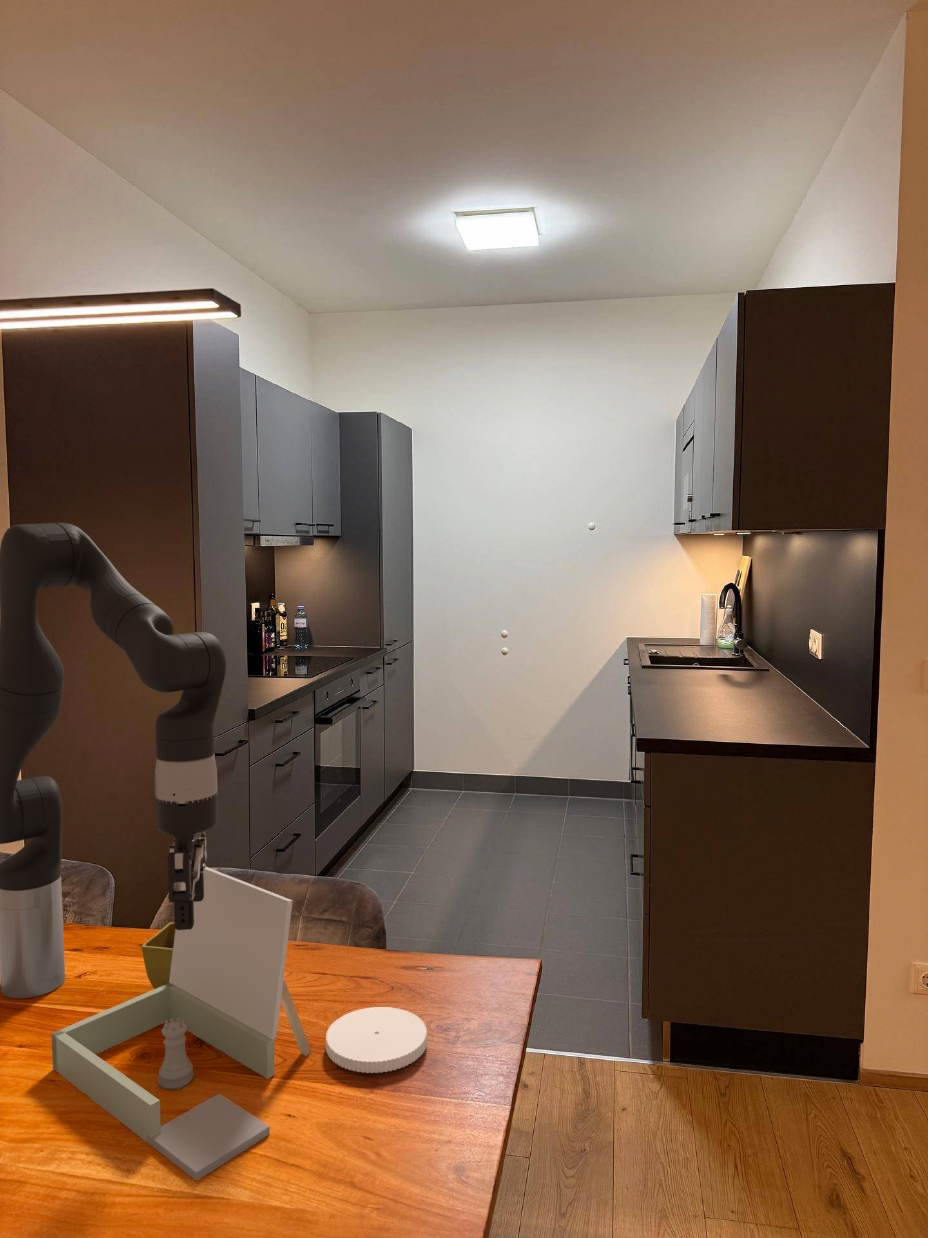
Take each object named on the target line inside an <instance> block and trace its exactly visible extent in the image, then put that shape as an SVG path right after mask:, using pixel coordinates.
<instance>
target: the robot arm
mask: <svg viewBox="0 0 928 1238" xmlns="http://www.w3.org/2000/svg"><path fill="white" fill-rule="evenodd" d="M70 586H76V587H78V588H80V589H82V590H85V591H86V592H88V593H89V594H90V598H89V599H90V600H89V601H90V602H89V603H90V604H89V607H90V614H91V618H92V619H93V622H94V623H95V625H96V626H97V628H98V629H99V631H101V632H102V633H103V634H104V635H105V636H106V637H107V638H108V639H110V640H111V641H112V642H113V643H114V644H116V645H117V646H118V647H119V648H121V649H122V651H124V652H125V654H126V656H127V657H128V659H129V661H130V663H131V664H132V666H133V668H134V669H135V671H136V673H137V675H138V677H139V679H140V680H141V682H142V683H143V684H144V685H146V686H147V687H148V688H150V689H152V690H153V691H156V692H160V693H175V692H179V691H180V692H181V691H182V693H181V694H180V695H181V696H180V698H179V701H178V702H177V703H176V704H174V706H171V707H169V708H167V709H165V710H163V711H162V712H161V713H160V714H158V716H157V717H156V721H155V751H156V753H155V755H156V761H155V762H156V763H155V770H154V771H155V773H154V787H155V788H154V793H155V794H154V795H155V823H156V824H155V825H156V829H157V831H159V832H160V833H162V834H165V835H170V836H172V837H174V839H173V842H172V843H173V845H169V852H168V855H167V861H168V896H167V899H168V900H169V903H173V908H174V909H173V910H174V911H173V912H174V913H173V914H174V917H173V918H174V922H175V929H177V930H189V929H192V928H193V925H194V902H199V901H202V900H203V898H204V871H205V869H206V867H207V866H206V863H207V860H208V855H207V854H208V853H207V832H208V831H209V830H212V829H214V828H215V827H216V826H217V824H218V822H219V806H218V805H219V802H218V801H219V800H218V799H219V798H218V796H219V794H218V769H217V763H216V756H215V755H216V754H215V751H216V750H215V729H214V728H215V726H214V725H215V718H216V715H217V711H218V707H219V703H220V699H221V695H222V691H223V686H224V682H225V678H226V674H227V673H226V672H227V657H226V653H225V650H224V647H223V645H222V643H221V642H220V640H219V639H218V638H217V637H216V636H215V635H214V634H211V633H209V632H205V631H196V632H195V631H194V632H187V633H177V634H174V632H175V631H174V625H173V621H172V619H171V617H170V616H169V615H168V614H167V613H166V612H165V610H163V609H162V608H161V607H159V606H158V605H156V604H155V603H154V602H152V600H150V599H149V598H148V597H146V596H145V595H143V594H142V593H140V592H139V590H137V589H136V588H135V587H133V586H132V585H131V584H130V583H129V582H128V581H127V580H126V579H125V578H124V577H123V576H122V575H121V573H120V572H119V571H118V569H116V567H115V566H114V564H113V563H112V562H111V561H110V560H109V559H108V557H107V556H106V555H105V554H104V553H103V552H102V550H101V549H100V548H99V547H98V545H97V544H96V543H95V542H94V541H93V540H92V539H91V537H90V536H89V535H88V534H87V533H85V532H84V531H83V530H82V529H81V528H80V527H78V526H76V525H74V524H71V523H66V522H52V523H51V522H50V523H49V522H48V523H23V524H15V525H12V526H10V527H9V528H7V530H6V531H5V532H4V534H3V536H2V539H1V542H0V845H6V844H11V843H15V842H21V841H24V840H28V839H29V840H28V842H27V843H26V844H25V845H24V846H23V847H22V848H21V849H20V850H18V851H17V852H16V853H14V854H12V855H10V856H8V857H7V858H6V859H4V860H3V861H2V862H0V992H1V994H2V995H3V996H4V997H7V998H10V999H11V998H12V999H28V998H33V997H34V998H35V997H38V996H43V995H45V994H48V993H50V992H52V991H55V990H56V989H58V988H59V987H60V986H62V985H63V983H65V980H66V972H65V971H66V968H65V967H66V965H65V941H64V939H65V937H64V936H65V935H64V920H63V919H64V918H63V917H64V915H63V912H64V911H63V894H62V872H61V871H62V870H61V868H62V859H63V840H62V839H63V799H62V795H61V794H62V793H61V791H60V787H59V785H58V783H57V781H56V780H55V779H54V778H52V777H51V776H47V775H42V776H36V777H35V776H34V777H29V778H23V779H20V780H18V779H19V776H20V773H21V770H22V767H23V766H24V764H25V762H26V760H27V759H28V758H29V756H30V755H31V754H32V752H33V751H34V750H35V749H36V748H37V746H38V745H39V744H40V743H41V742H42V740H43V739H44V738H45V736H46V735H47V734H48V732H49V731H50V730H51V729H52V727H53V726H54V724H55V722H56V721H57V720H58V717H59V715H60V713H61V710H62V704H63V695H64V686H65V668H64V665H63V663H62V660H61V659H60V656H59V655H58V653H57V652H56V650H55V648H54V647H53V646H52V644H51V642H50V641H49V640H48V638H47V636H46V634H45V633H44V632H43V630H42V628H41V626H40V623H39V620H38V614H37V613H38V612H37V598H38V592H39V590H49V589H57V588H59V589H60V588H67V587H70ZM181 882H184V883H185V884H186V890H182V891H180V890H179V884H180V883H181Z"/></svg>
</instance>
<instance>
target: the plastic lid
mask: <svg viewBox="0 0 928 1238" xmlns="http://www.w3.org/2000/svg"><path fill="white" fill-rule="evenodd" d="M427 1045H428V1029H427V1026H426V1023H425V1022H424V1021H423V1019H421V1017H419V1016H418V1015H416V1014H414V1013H413V1012H410V1011H409V1010H408V1011H407V1010H406V1009H402V1008H398V1007H396V1008H395V1007H390V1006H388V1007H387V1006H384V1007H383V1006H379V1007H378V1006H376V1007H374V1006H371V1007H367V1008H366V1007H364V1008H362V1009H361V1008H360V1009H355V1010H354V1011H351V1012H348V1013H347V1014H346V1013H345V1014H344V1015H342V1016H340V1017H338V1018H337V1019H335V1020H334V1021H333V1022H332V1023H331V1024H330V1025H329V1027H328V1029H327V1031H326V1033H325V1051H326V1054H327V1056H328V1057H329V1058H330V1060H331V1061H332V1062H333V1063H335V1065H338V1067H341V1068H344V1069H345V1070H349V1071H352V1072H357V1073H360V1072H361V1073H363V1074H364V1073H366V1074H369V1073H370V1074H374V1073H375V1074H378V1073H383V1072H385V1073H387V1072H392V1071H397V1069H398V1070H399V1069H401V1068H405V1067H406V1066H409V1064H410V1065H411V1064H412V1063H413V1062H415V1061H417V1060H418V1059H419V1058H420V1057H421V1056H422V1055H423V1054H424V1053H425V1051H426V1048H427Z"/></svg>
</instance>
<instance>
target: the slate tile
mask: <svg viewBox="0 0 928 1238" xmlns="http://www.w3.org/2000/svg"><path fill="white" fill-rule="evenodd" d="M270 1134H271V1133H270V1125H268V1124H266V1123H265V1122H263V1121H262V1120H261V1119H259V1118H258V1117H255V1116H254V1115H253V1114H252V1113H250V1112H248V1111H247V1110H245V1109H243V1108H242V1107H241V1106H239V1105H238V1104H236V1103H235V1102H233V1101H231V1100H230V1099H228V1098H227V1097H225V1096H223V1095H222V1094H220V1093H218V1094H216V1095H214V1096H212V1097H210V1098H208V1099H207V1100H205V1101H203V1102H201V1103H200V1104H198V1105H196V1106H195V1107H193V1108H191V1109H189V1110H188V1111H186V1112H184V1113H181V1114H180V1115H179V1116H176V1117H175V1118H173V1119H171V1120H169V1121H168V1122H166V1123H164V1124H162V1125H161V1133H159V1134H158V1135H156V1136H154V1137H152V1138H151V1137H149V1136H148V1135H147V1140H148V1141H147V1142H146V1143H147V1144H149V1145H150V1146H151V1147H152V1148H154V1149H155V1150H156V1151H157V1152H159V1153H160V1154H161V1155H163V1156H164V1157H165V1158H166V1159H168V1160H169V1161H170V1162H172V1163H173V1164H174V1165H175V1166H177V1167H178V1168H179V1169H181V1170H182V1171H183V1172H184V1173H186V1174H187V1175H188V1176H189V1177H191V1178H192V1179H194V1180H195V1181H196V1182H197V1181H199V1180H201V1179H202V1178H204V1177H205V1176H207V1175H209V1174H210V1173H212V1172H213V1171H215V1170H216V1169H218V1168H219V1167H221V1166H222V1165H224V1164H225V1163H227V1162H229V1161H230V1160H232V1159H233V1158H235V1157H236V1156H238V1155H240V1154H241V1153H243V1152H244V1151H246V1150H247V1149H249V1148H251V1147H253V1146H254V1145H255V1144H257V1143H259V1142H260V1141H262V1140H263V1139H264V1138H266V1137H267V1136H269V1135H270Z"/></svg>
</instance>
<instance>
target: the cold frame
mask: <svg viewBox="0 0 928 1238" xmlns="http://www.w3.org/2000/svg"><path fill="white" fill-rule="evenodd" d="M281 1004H282V1006H283V1009H284V1012H285V1014H286V1017H287V1020H288V1022H289V1025H290V1028H291V1030H292V1033H293V1036H294V1038H295V1041H296V1044H297V1046H298V1048H299V1051H300V1053H301V1054H302V1055H303V1056H305V1057H307V1056H309V1054H310V1053H312V1050H311V1049H312V1048H311V1047H310V1044H309V1041H308V1038H307V1037H306V1036H307V1035H306V1033H305V1031H304V1028H303V1025H302V1022H301V1020H300V1017H299V1015H298V1012H297V1009H296V1007H295V1004H294V1002H293V998H292V996H291V994H290V991H289V988H288V985H287V983H286V979H283V987H282V996H281ZM177 1017H180V1018H181V1019H184V1022H185V1024H186V1025H187V1026H188V1028H187V1030H186V1032H189V1033H190V1032H191V1033H190V1034H192V1035H194V1036H195V1035H196V1036H195V1037H197V1038H199V1039H201V1040H202V1041H204V1042H206V1043H207V1044H209V1045H211V1046H212V1047H214V1048H216V1049H217V1050H219V1051H221V1052H222V1053H224V1054H225V1055H227V1056H229V1057H230V1058H232V1059H233V1060H235V1061H237V1062H238V1063H241V1064H242V1065H244V1066H245V1067H246V1068H248V1069H250V1070H252V1071H254V1072H255V1073H257V1074H259V1075H261V1076H262V1077H264V1078H265V1079H268V1080H269V1079H270V1078H271V1077H273V1076H275V1075H276V1069H275V1068H276V1064H275V1063H276V1062H275V1058H276V1057H275V1055H276V1054H275V1053H276V1052H275V1039H270V1038H268V1037H267V1036H265V1035H263V1034H261V1033H259V1032H258V1031H256V1030H254V1029H252V1028H250V1027H248V1026H247V1025H245V1024H243V1023H241V1022H239V1021H238V1020H236V1019H234V1018H232V1017H230V1016H229V1015H227V1014H225V1013H223V1012H221V1011H220V1010H218V1009H216V1008H214V1007H212V1006H210V1005H209V1004H207V1003H205V1002H203V1001H201V1000H200V999H198V998H196V997H194V996H192V995H191V994H189V993H187V992H185V991H183V990H182V989H180V988H178V987H176V986H174V985H173V984H171V983H168V984H166V985H163V986H161V987H159V988H156V989H152V990H150V991H147V992H144V993H142V994H140V995H138V996H135V997H134V998H131V999H128V1000H126V1001H124V1002H121V1003H120V1004H117V1005H115V1006H112V1007H111V1008H108V1009H105V1010H103V1011H101V1012H98V1013H95V1014H94V1015H92V1016H91V1015H90V1016H89V1017H87V1018H84V1019H82V1020H79V1021H77V1022H75V1023H73V1024H71V1025H68V1026H66V1027H64V1028H63V1027H62V1028H61V1029H58V1030H57V1031H54V1032H52V1033H51V1051H52V1052H51V1055H52V1070H53V1069H54V1070H53V1071H55V1070H56V1071H57V1072H58V1073H59V1074H58V1073H57V1072H56V1071H55V1072H56V1073H57V1074H58V1075H60V1074H61V1075H62V1076H63V1077H62V1076H61V1075H60V1076H61V1077H62V1078H64V1079H65V1080H66V1079H67V1080H68V1081H67V1080H66V1081H67V1082H69V1083H70V1082H71V1083H70V1084H71V1085H73V1086H74V1087H75V1086H76V1087H77V1089H78V1090H79V1091H80V1092H82V1093H83V1094H84V1093H85V1094H86V1096H87V1095H88V1096H87V1097H88V1098H89V1097H90V1098H89V1099H90V1100H92V1099H93V1100H94V1101H93V1100H92V1101H93V1102H94V1103H96V1104H97V1105H98V1106H100V1107H101V1108H102V1109H103V1110H104V1111H106V1112H107V1113H109V1114H110V1115H112V1117H114V1118H115V1119H116V1120H118V1121H119V1122H121V1124H123V1125H124V1126H126V1128H128V1129H129V1130H130V1131H132V1132H133V1133H134V1134H136V1135H137V1136H138V1137H139V1138H140V1139H142V1140H143V1141H144V1142H146V1143H147V1141H148V1140H147V1135H148V1136H149V1137H151V1138H152V1137H154V1136H156V1135H158V1134H159V1133H161V1126H162V1125H161V1100H160V1099H158V1098H157V1097H155V1096H154V1095H153V1094H152V1093H150V1092H148V1091H147V1090H145V1088H143V1087H142V1086H140V1084H138V1083H136V1082H135V1081H133V1079H132V1080H131V1079H130V1078H129V1077H127V1076H126V1075H125V1074H123V1073H122V1072H121V1071H120V1070H118V1069H116V1068H115V1067H114V1066H112V1065H111V1064H109V1063H108V1062H106V1061H105V1060H104V1059H102V1058H101V1057H99V1056H98V1054H100V1053H99V1052H101V1053H102V1052H105V1051H107V1050H109V1049H112V1048H113V1047H115V1045H116V1046H117V1044H118V1045H120V1044H122V1043H124V1042H126V1041H128V1040H131V1039H133V1038H134V1037H137V1036H139V1035H141V1034H143V1033H145V1032H147V1031H150V1030H151V1029H154V1028H156V1027H158V1026H160V1025H162V1024H165V1022H166V1021H168V1022H169V1019H170V1018H173V1021H176V1018H177ZM132 1037H133V1038H132ZM123 1041H124V1042H123ZM121 1042H122V1043H121ZM112 1046H113V1047H112ZM108 1048H109V1049H108ZM104 1050H105V1051H104ZM97 1053H98V1054H97ZM95 1054H96V1055H95ZM76 1087H75V1088H76ZM85 1094H84V1095H85Z"/></svg>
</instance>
